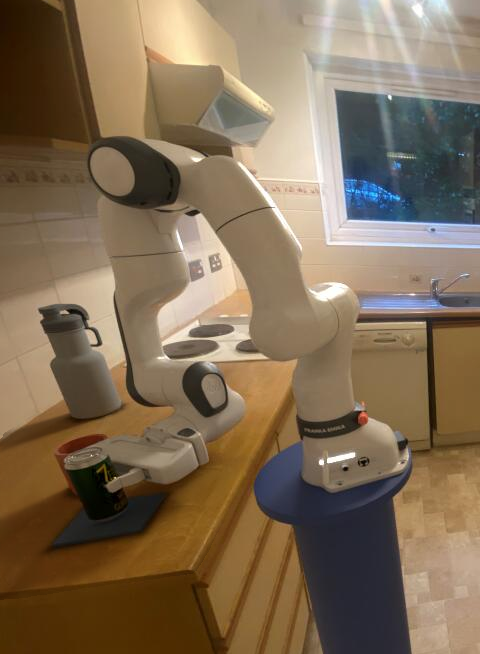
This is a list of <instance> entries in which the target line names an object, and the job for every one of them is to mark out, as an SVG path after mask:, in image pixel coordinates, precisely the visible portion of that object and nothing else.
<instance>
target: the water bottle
mask: <svg viewBox="0 0 480 654" xmlns="http://www.w3.org/2000/svg"><path fill="white" fill-rule="evenodd" d="M37 310H38V313H39V314H40V315H42V319H41V320H39V323H40V325H41V328H42V330H43V332H44V334H45V335H46V337H47V338H48V341H49V343H50V346H51V348H52V351H53V353H54V355H55V357H53V359H51V360H50V363H49V368H50V370H51V372H52V375H53V377H54V379H55V381H56V384H57V386H58V389H59V391H60V394H61V396H62V398H63V400H64V402H65V404H66V407H67V409H68V412H69V413H70V416H71V417H73V418H74V419H77V420H91V419H97V418H101V417H104V416H107V415H109V414H110V415H111V414H112V413H114V412H115V411H117V410H118V409H120V408H121V406H122V400H121V398H120V395H119V393H118V390H117V387H116V385H115V381H114V379H113V376H112V374H111V371H110V368H109V366H108V362H107V360H106V357H105V356H104V354H103V353H102V352H100V351H98V350H95V349H93V348H98V347H101V346H102V345H103V340H102V336H101V334H100V332H99V330H98V329H97V328H96V327H94V326H89V323H88V321H89V320H90V318H91V317H90V315H89V313H88V311H87V310H86V309H85V308H84V307H83V306H81V305H79V304H76V303H54V304H53V303H52V304H49V305H45V306H41V307H37ZM63 311H65V312H67V313H61V312H63ZM87 330H88V331H92V332H93V333H94V336H95V339H96V341H97V342H96V343H90V340H89V338H88V335H87V332H86V331H87Z"/></svg>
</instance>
